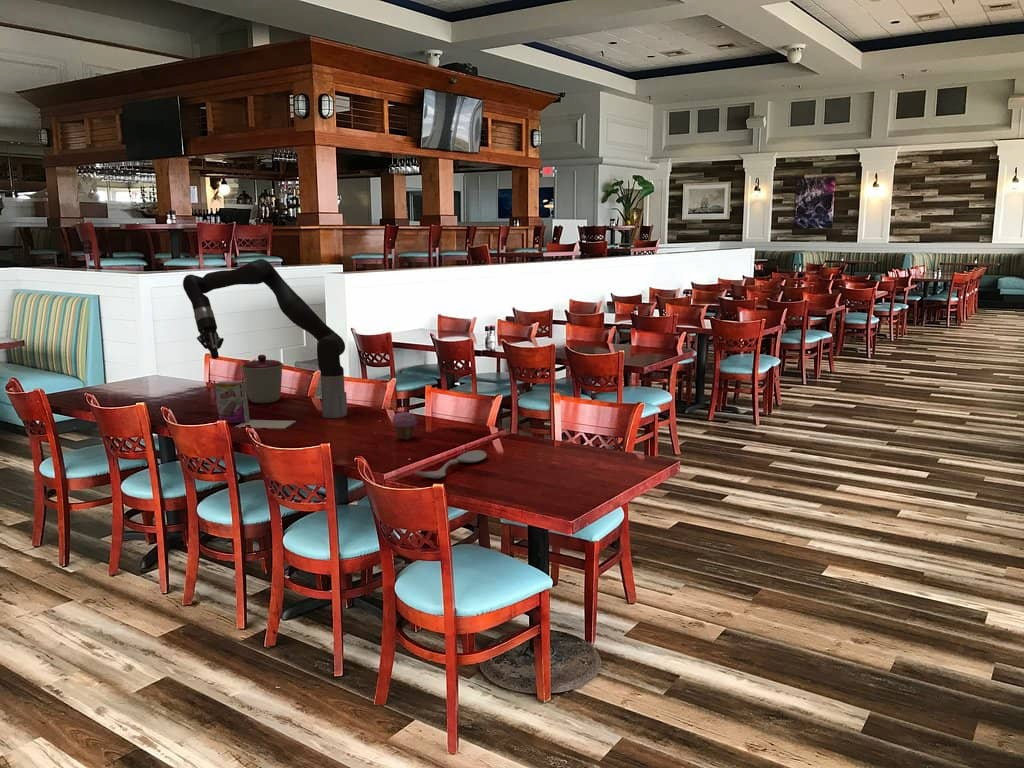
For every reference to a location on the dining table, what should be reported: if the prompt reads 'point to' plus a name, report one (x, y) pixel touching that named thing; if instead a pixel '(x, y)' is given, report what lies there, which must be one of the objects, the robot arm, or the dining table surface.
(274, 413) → the dining table surface
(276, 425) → the placemat
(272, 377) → the canister
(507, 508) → the dining table surface
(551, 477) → the dining table surface
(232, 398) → the candy bar box
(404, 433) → the cupcake
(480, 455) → the spoon
